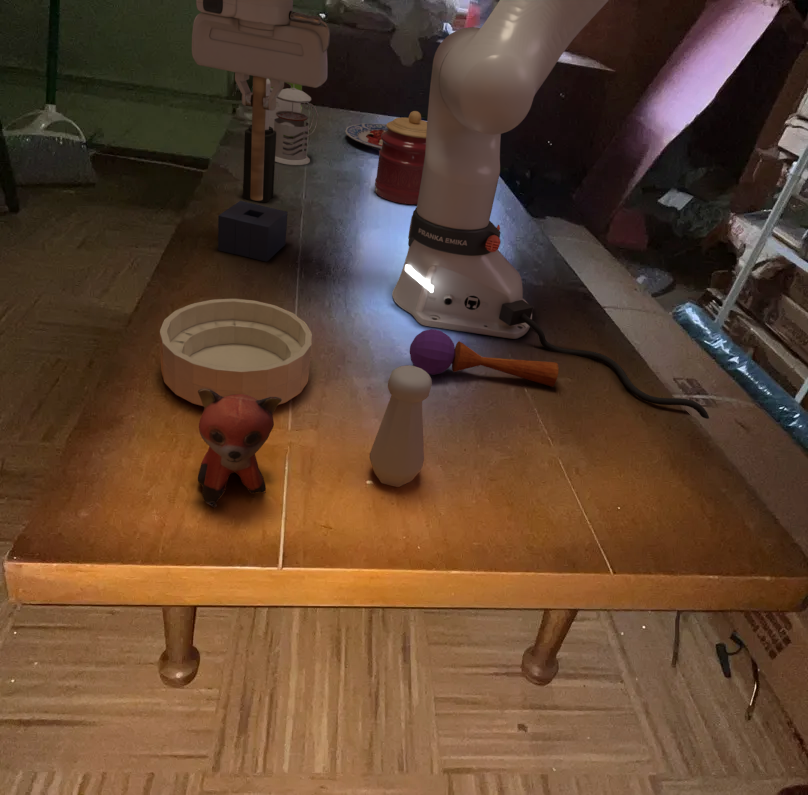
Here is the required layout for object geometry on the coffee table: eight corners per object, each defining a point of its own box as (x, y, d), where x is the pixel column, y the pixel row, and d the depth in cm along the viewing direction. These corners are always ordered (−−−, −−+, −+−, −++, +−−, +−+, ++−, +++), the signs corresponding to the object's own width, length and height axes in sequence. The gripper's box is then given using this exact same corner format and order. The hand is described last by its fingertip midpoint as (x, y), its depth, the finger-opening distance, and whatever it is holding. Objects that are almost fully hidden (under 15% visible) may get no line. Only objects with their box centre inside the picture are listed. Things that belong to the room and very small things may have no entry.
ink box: (301, 133, 189) (305, 76, 182) (299, 139, 185) (304, 80, 177) (260, 128, 188) (263, 70, 180) (258, 133, 183) (260, 74, 176)
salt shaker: (419, 460, 82) (439, 361, 74) (421, 494, 77) (443, 391, 70) (367, 455, 81) (382, 354, 74) (366, 489, 76) (383, 385, 69)
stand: (285, 244, 127) (287, 211, 124) (266, 262, 120) (268, 227, 116) (239, 233, 128) (240, 200, 125) (217, 250, 121) (218, 215, 117)
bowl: (326, 358, 97) (330, 318, 94) (277, 430, 82) (280, 386, 79) (202, 327, 99) (202, 287, 96) (133, 392, 84) (130, 347, 81)
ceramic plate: (334, 128, 199) (335, 117, 198) (422, 135, 208) (424, 124, 206) (358, 157, 179) (359, 144, 178) (454, 163, 188) (456, 151, 186)
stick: (264, 198, 120) (269, 53, 108) (260, 201, 118) (264, 54, 106) (253, 195, 120) (256, 50, 108) (248, 199, 118) (251, 52, 107)
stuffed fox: (272, 444, 80) (278, 349, 74) (276, 514, 71) (283, 414, 64) (200, 443, 78) (200, 346, 72) (195, 515, 69) (195, 412, 63)
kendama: (565, 373, 95) (415, 345, 92) (548, 405, 99) (405, 379, 96) (558, 344, 99) (416, 316, 96) (543, 375, 103) (405, 349, 100)
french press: (259, 153, 169) (264, 35, 156) (300, 150, 177) (308, 37, 163) (283, 166, 164) (290, 45, 150) (324, 162, 171) (335, 46, 158)
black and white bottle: (265, 203, 142) (272, 66, 129) (240, 198, 143) (244, 60, 129) (274, 196, 147) (281, 62, 133) (250, 190, 147) (255, 57, 134)
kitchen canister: (441, 206, 157) (457, 121, 148) (385, 205, 152) (398, 117, 143) (418, 185, 167) (431, 105, 157) (365, 184, 162) (375, 101, 152)
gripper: (337, 17, 105) (330, 116, 113) (205, -7, 108) (206, 91, 115) (323, 20, 100) (316, 124, 108) (185, -5, 102) (187, 98, 110)
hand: (258, 107), depth 111 cm, fingers closed on stick, 2 cm apart
